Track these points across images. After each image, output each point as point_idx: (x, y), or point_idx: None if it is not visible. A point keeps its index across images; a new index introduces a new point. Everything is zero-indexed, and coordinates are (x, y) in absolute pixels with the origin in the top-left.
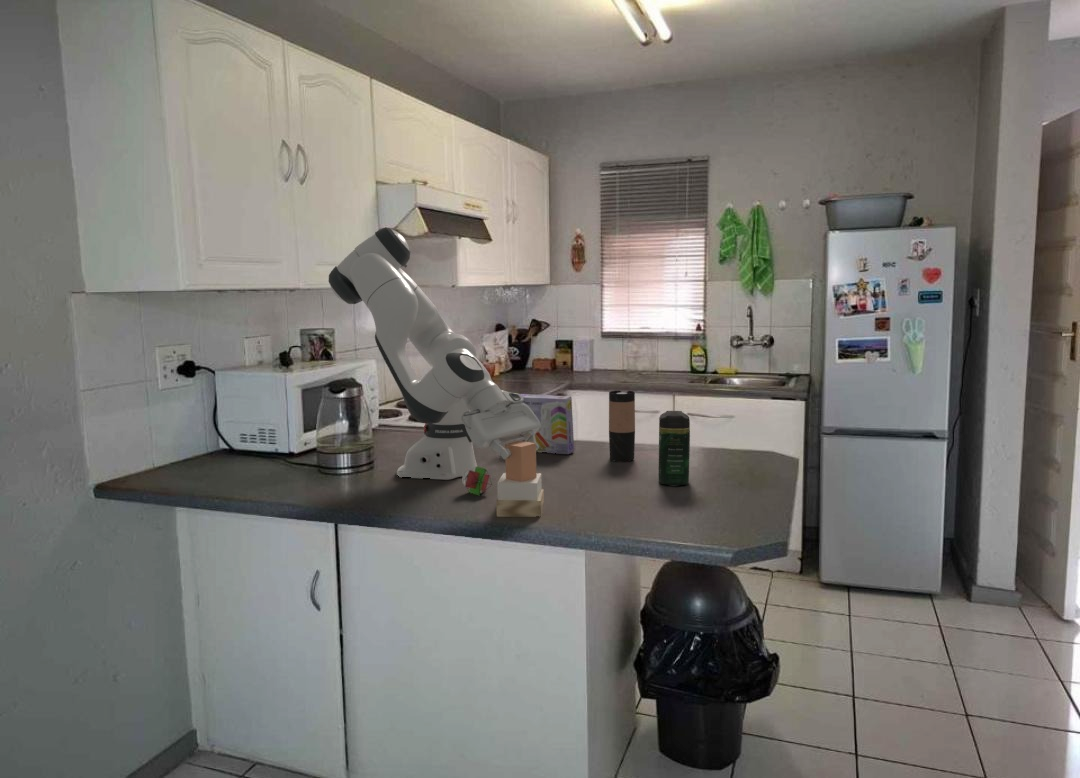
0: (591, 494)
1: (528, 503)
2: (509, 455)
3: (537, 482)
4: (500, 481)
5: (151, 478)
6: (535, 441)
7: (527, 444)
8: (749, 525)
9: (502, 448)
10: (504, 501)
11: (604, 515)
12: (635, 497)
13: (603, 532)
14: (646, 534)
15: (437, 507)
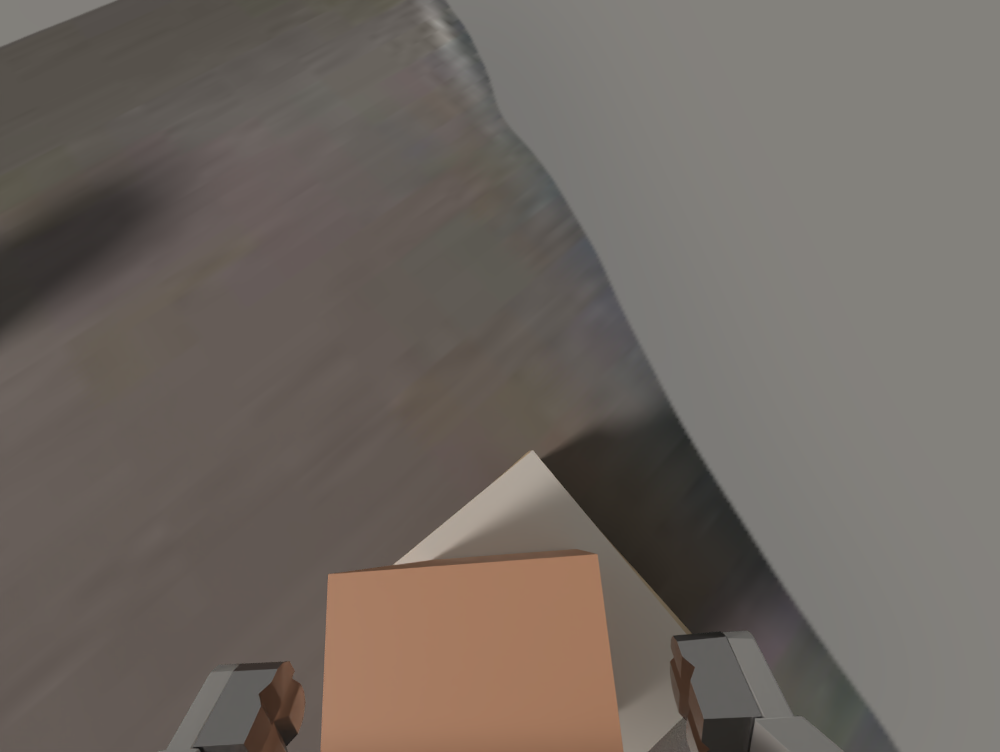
0: (138, 530)
1: None
2: (708, 635)
3: (516, 463)
4: None
5: None
6: (177, 738)
7: (447, 599)
8: (218, 11)
9: (818, 731)
10: (666, 605)
11: (361, 299)
12: (103, 363)
13: (511, 190)
14: (440, 109)
15: None
